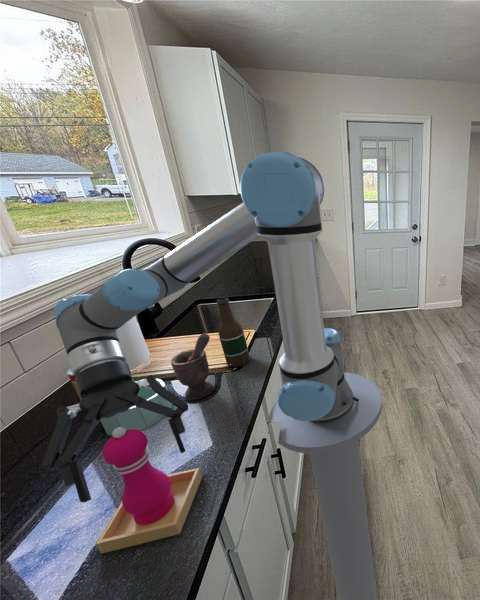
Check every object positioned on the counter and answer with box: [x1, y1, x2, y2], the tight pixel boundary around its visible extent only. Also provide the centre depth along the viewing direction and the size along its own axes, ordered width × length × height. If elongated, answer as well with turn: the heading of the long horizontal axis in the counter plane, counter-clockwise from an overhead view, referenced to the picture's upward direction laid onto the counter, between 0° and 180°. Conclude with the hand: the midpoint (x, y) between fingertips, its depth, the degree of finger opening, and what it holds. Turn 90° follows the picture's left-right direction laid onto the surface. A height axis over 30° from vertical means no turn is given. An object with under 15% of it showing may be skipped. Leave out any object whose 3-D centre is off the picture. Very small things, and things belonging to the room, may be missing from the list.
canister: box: [116, 315, 153, 375], centre depth 108 cm, size 16×16×20 cm
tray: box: [95, 467, 203, 555], centre depth 60 cm, size 12×12×3 cm
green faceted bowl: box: [99, 378, 174, 436], centre depth 86 cm, size 17×15×7 cm
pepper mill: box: [102, 427, 174, 525], centre depth 57 cm, size 7×7×20 cm
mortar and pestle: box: [170, 333, 214, 402], centre depth 92 cm, size 12×9×20 cm
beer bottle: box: [216, 297, 251, 368], centre depth 107 cm, size 8×8×24 cm
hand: (138, 474), depth 55 cm, fingers open, 13 cm apart
